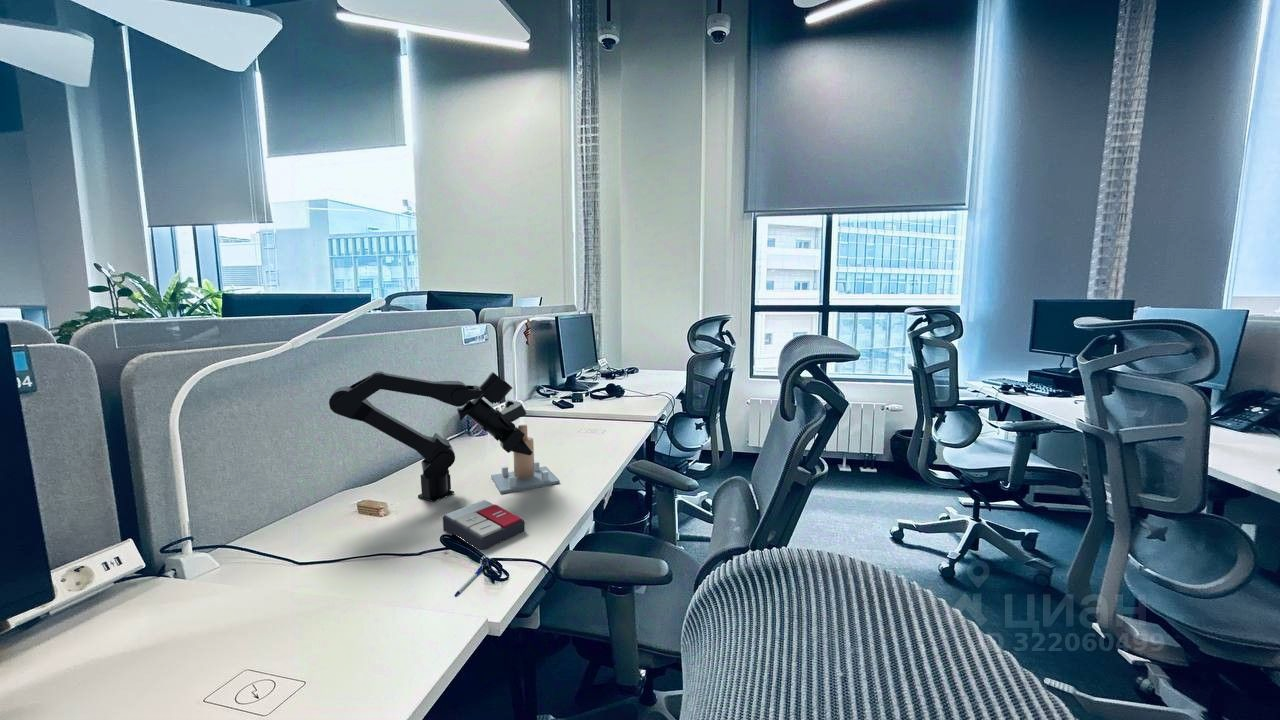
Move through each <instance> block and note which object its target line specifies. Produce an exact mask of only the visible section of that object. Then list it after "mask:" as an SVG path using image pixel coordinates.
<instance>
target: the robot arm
mask: <svg viewBox="0 0 1280 720" xmlns="http://www.w3.org/2000/svg"><path fill="white" fill-rule="evenodd" d="M512 389H513V387H512V386H511V385H510V384H509V383H508V382H507V381H505V380H504V379H503V378H501V377H500V376H499V375H497V374H496V373H495V372H494V371H493V372H491V373H490V374H489V375H488V377H487V378H486V379H485V380H484V381H483V383H482V384H480V385H470V384H469V385H467V384H466V383H464V382H463V381H459V380H439V381H436V380H435V381H432V380H428V379H427V380H426V379H420V378H414V377H411V376H410V377H409V376H405V375H404V376H403V375H397V374H393V373H387V372H384V371H381V370H380V371H379V370H377V371H373V372H372V373H371V374H370V375H368V376H367V377H364V378H363V379H360V380H359V381H356V382H355V383H353V384H351V385H349V386H348V385H346V386H340V387H338V388H337V389H335V390H334V392H333V393H332V395H331V396H330V398H329V402H328V404H329V409H330V410H331V411H332V413H334V414H335V415H338V416H341V417H344V418H347V419H350V420H355V421H359V422H363V423H366V424H367V425H369V426H371V427H372V428H375V429H377V430H378V431H380V432H382V433H383V434H385V435H387V436H389V437H391V438H393V439H395V441H398V442H400V443H402V444H404V445H405V446H407V447H409V448H411V449H413V450H415V451H416V452H417V453H418V454H419V455H420V456H421V457H422V458H423V460H422V461H421V468H422V474H420V487H421V489H420V490H421V493H420V494H418V495H417V498H419V499H422V500H427V501H429V502H433V503H434V502H435V503H436V502H437V501H439V500H442V499H444V498H446V497H449V496H452V495H454V494H455V491H454V490H451V489H452V483H451V474H450V470H449V468H451V467H452V466H453V465H454V463H455V461H456V455H455V452H454V449H453V447H452V445H451V444H450V440H449V439H446V438H443V437H442V436H440V435H439V434H438V433H437V432H434V434H433V436H428V435H425V434H423V433H421V432H419V431H418V430H416V429H414V428H413V427H411V426H409V425H407V424H406V423H403V422H402V421H400V420H398V419H396V418H395V417H393V416H392V415H389V414H388V413H386V412H384V411H382V410H381V409H379V408H378V407H376V406H374V405H373V404H372V402H370V401H369V400H368V399H369V398H370V396H372V395H374V394H375V393H376V392H378V391H380V390H384V391H390V392H396V393H401V394H402V393H403V394H409V395H416V396H421V397H427V398H430V399H434V400H437V401H439V402H442V403H444V404H448V405H451V406H453V407H458V408H456V410H457V418H458V419H459V421H463V419H464V418H466V417H468V418H470V420H472V421H473V422H474V423H476V425H478V426H479V427H480V428H482V430H484V431H485V432H487V433H488V434H489V435H491V436H492V437H493V438H494V440H496V441H497V442H500V444H499V445H500V447H501V448H502V450H503V451H505V452H506V453H508V454H509V453H511V452H512V453H513V452H517V453H521V454H526V455H531V454H532V451H531V450H530V448H529V447H528V446H527V445H526V443H525V442H524V441H523V437H524V435H525V434H524V433H523V432H522V431H521V430H520V429H518V426H516V424H515V423H513V422H515V421H517V420H518V419H520V418H523V417H524V416H526V415H527V411H526V409H525V407H524V406H523V404H522V403H521V401H517V400H516V401H515V402H514V401H512V400H511V399H509V400H507V401H505V404H504V405H505V406H504V408H503V409H502V410H501V411H499V410H498V408H497V409H496V408H494V407H493V406H492V405H494V404H501V402H502V401H503V400H504V398H505V397H506V396H507V395H508V394H509V393H510V392H511V390H512ZM483 398H484V399H486V400H487V401H488V402H489V403H487V401H485V400H484V399H483ZM490 403H491V404H490Z"/></svg>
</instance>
